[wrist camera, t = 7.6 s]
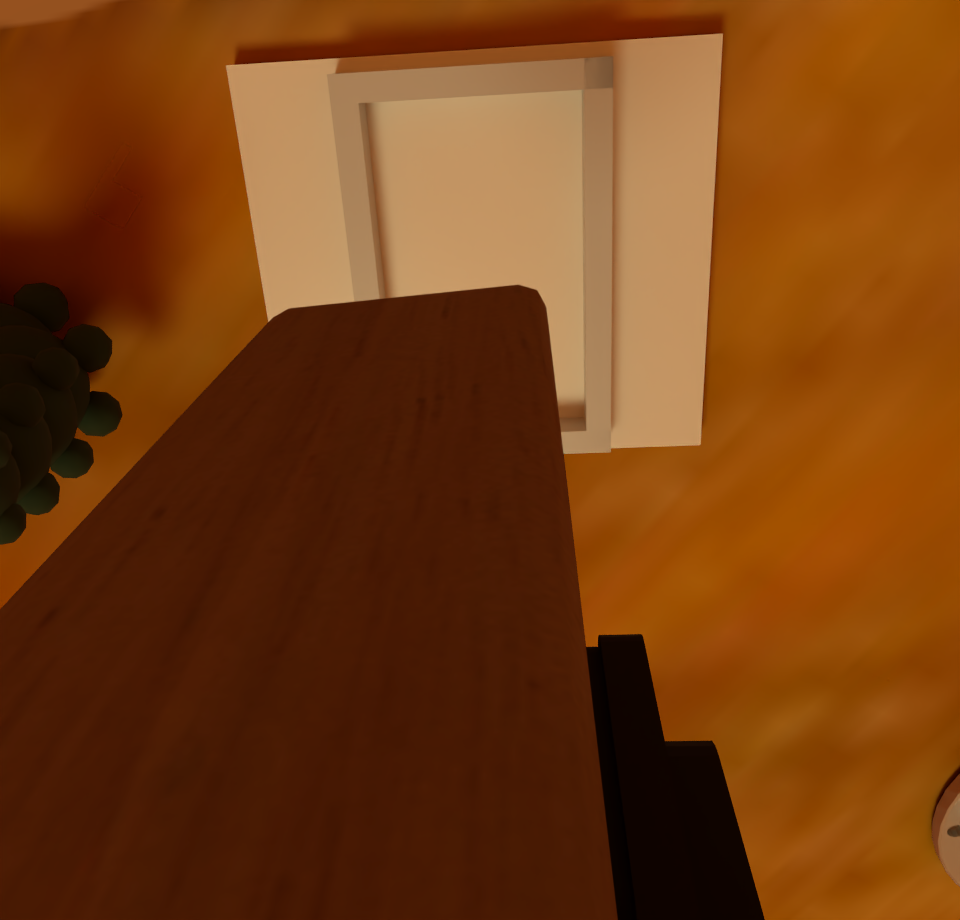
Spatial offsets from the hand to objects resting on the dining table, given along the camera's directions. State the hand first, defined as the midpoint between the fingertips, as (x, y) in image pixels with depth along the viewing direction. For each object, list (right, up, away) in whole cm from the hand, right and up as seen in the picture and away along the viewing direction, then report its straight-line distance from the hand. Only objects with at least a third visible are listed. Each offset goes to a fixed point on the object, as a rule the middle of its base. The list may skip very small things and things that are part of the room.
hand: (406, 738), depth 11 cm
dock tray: (+1, +12, +24) cm, 27 cm away
